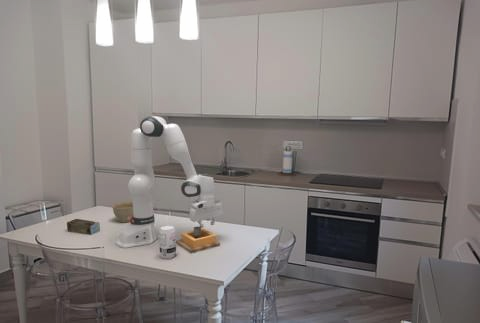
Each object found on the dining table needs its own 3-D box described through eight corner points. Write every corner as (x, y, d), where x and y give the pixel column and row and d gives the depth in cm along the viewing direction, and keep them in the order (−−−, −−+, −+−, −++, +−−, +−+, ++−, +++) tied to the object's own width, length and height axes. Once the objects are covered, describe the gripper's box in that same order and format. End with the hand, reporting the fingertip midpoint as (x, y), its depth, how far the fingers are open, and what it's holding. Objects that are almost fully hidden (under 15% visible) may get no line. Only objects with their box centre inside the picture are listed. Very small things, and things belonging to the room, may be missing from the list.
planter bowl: (116, 217, 240) (115, 202, 239) (140, 216, 242) (139, 201, 241) (110, 224, 224) (109, 208, 223) (135, 223, 226) (135, 207, 225)
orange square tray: (194, 248, 181) (193, 240, 181) (181, 240, 192) (181, 233, 192) (216, 242, 189) (216, 235, 189) (203, 235, 200) (203, 228, 200)
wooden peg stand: (191, 253, 178) (190, 235, 177) (175, 242, 192) (175, 226, 191) (220, 245, 189) (219, 228, 187) (203, 236, 203) (203, 220, 202)
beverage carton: (90, 235, 205) (90, 225, 204) (66, 231, 212) (65, 221, 211) (100, 231, 212) (99, 221, 211) (76, 227, 219) (76, 217, 218)
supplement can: (161, 253, 178) (160, 225, 176) (177, 252, 179) (176, 224, 177) (158, 259, 170) (157, 230, 168) (175, 259, 171) (174, 230, 169)
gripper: (219, 198, 200) (219, 221, 202) (187, 203, 188) (188, 228, 189) (225, 200, 195) (225, 223, 197) (193, 206, 183) (194, 231, 184)
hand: (207, 226), depth 193 cm, fingers open, 6 cm apart
